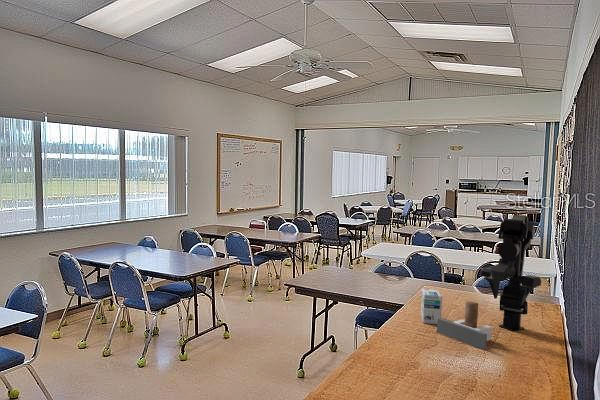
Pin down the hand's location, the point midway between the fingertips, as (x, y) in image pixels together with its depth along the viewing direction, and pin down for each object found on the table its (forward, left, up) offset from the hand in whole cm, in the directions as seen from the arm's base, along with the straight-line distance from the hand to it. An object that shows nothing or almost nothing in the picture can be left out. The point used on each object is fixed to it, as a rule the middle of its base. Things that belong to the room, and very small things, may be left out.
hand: (508, 301), depth 157 cm
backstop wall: (+15, -7, -13) cm, 21 cm away
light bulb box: (+6, -27, -13) cm, 31 cm away
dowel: (+10, -7, -13) cm, 18 cm away
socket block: (+10, -7, -13) cm, 18 cm away
